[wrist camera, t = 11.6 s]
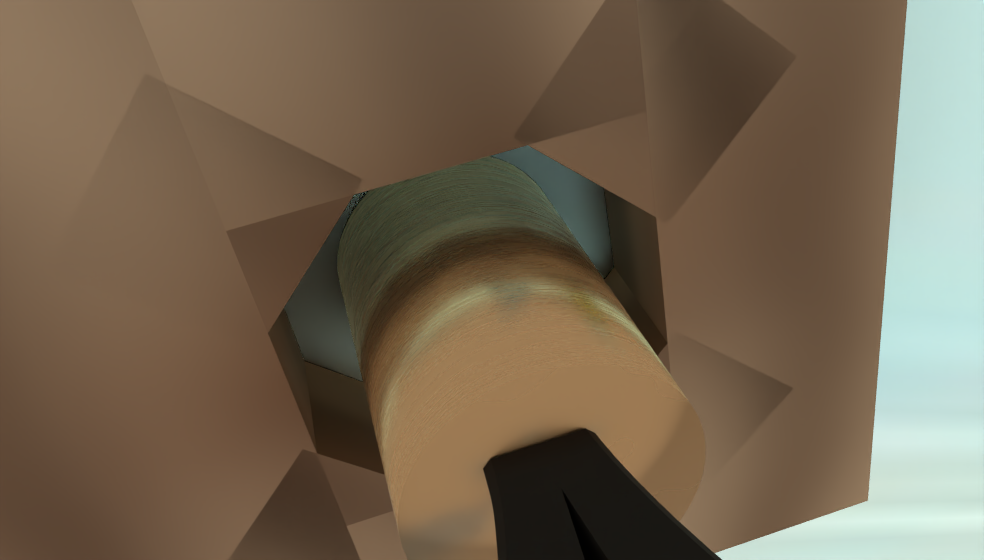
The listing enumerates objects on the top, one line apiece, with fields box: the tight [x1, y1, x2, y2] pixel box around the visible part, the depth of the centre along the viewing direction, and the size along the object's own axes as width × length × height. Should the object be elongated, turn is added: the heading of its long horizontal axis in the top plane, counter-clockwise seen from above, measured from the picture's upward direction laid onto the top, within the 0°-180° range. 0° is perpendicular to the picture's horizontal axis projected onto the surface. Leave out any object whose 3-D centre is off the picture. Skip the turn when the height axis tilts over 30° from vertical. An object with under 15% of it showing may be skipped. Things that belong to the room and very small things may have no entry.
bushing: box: [337, 156, 706, 560], centre depth 14 cm, size 4×4×6 cm
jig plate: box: [0, 0, 907, 560], centre depth 15 cm, size 20×14×2 cm
